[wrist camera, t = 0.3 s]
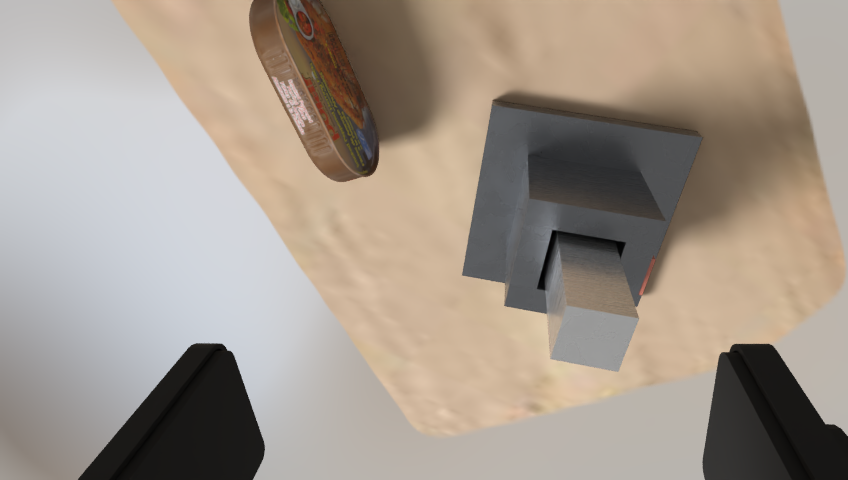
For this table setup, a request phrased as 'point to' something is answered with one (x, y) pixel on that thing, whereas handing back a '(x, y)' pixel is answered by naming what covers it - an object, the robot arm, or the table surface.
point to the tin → (316, 86)
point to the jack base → (572, 193)
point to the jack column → (587, 301)
